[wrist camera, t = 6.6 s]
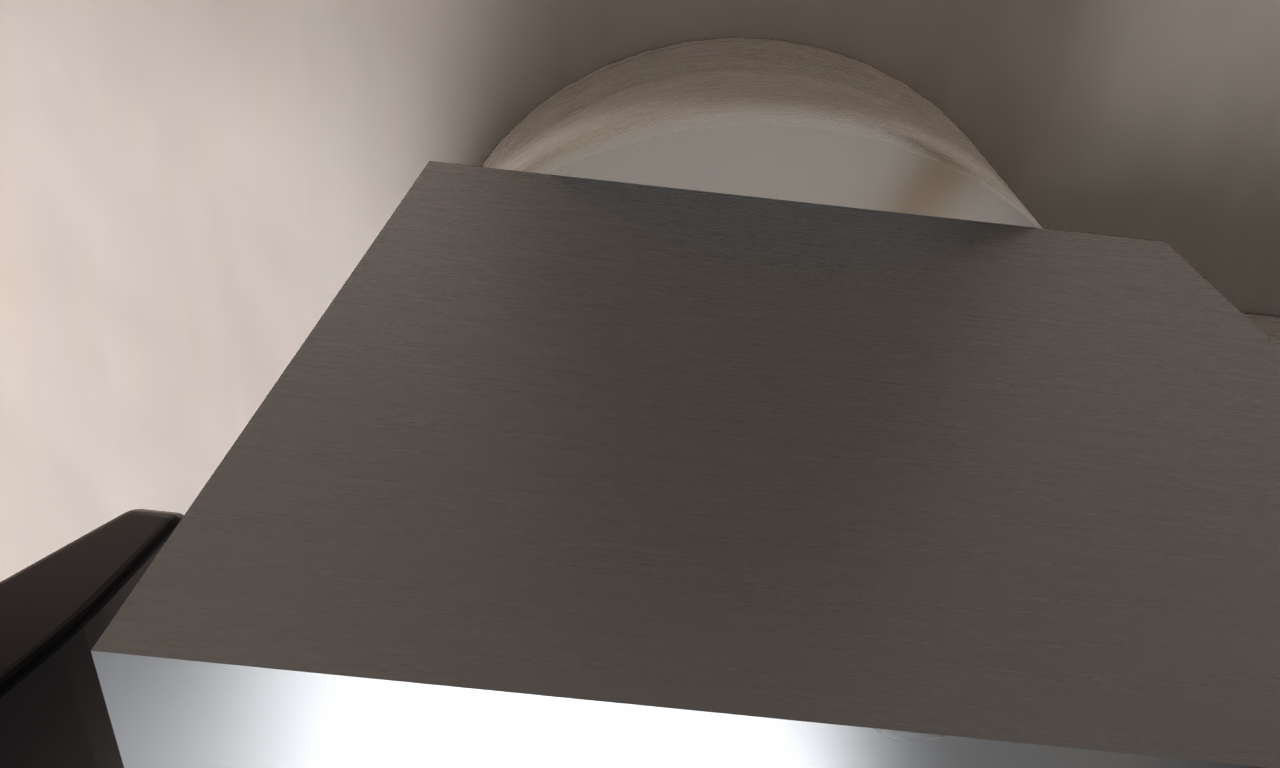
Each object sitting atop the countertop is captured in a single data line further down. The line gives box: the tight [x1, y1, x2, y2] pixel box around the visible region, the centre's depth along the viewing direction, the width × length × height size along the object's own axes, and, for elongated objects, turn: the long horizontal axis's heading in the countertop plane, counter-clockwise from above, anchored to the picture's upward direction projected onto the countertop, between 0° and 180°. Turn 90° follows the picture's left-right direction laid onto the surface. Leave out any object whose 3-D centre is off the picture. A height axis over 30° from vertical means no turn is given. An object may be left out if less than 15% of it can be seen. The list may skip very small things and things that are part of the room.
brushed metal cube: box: [91, 161, 1280, 768], centre depth 7 cm, size 6×6×5 cm
